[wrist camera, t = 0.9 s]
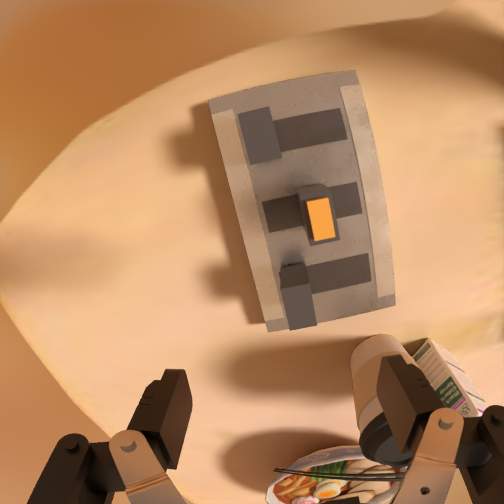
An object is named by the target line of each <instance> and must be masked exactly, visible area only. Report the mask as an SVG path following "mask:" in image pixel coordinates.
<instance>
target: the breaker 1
mask: <svg viewBox="0 0 504 504" xmlns="http://www.w3.org/2000/svg"><path fill="white" fill-rule="evenodd" d="M237 115H238V119H239V123H240V127H241V131H242V135H243V139H244V142H245V146H246V150H247V154H248V158H249V162H250V165H253V164H257V163H262V162H266V161H270V160H275V159H279V158H282V155H281V151H280V147H279V143H278V139H277V135H276V131H275V127H274V123H273V119H272V115H271V112H270V108H269V106H268V107H264V108H259V109H255V110H251V111H247V112H243V113H239V114H237Z"/></svg>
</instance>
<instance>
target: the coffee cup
mask: <svg viewBox="0 0 504 504" xmlns="http://www.w3.org/2000/svg"><path fill="white" fill-rule="evenodd" d="M395 354H401V355H402V357H403V358H404V360H405V361H406V363H407V364H411V363H412V364H414V365H415V366H417V367H418V368H419V366H418V365H417V363H416V362H415V361H414V359H413V358H412V357H411V356H410V355H409V354H408V353H407V352H406V350H405V349H404V347H403V346H402V345H401V343H400V342H399V341H398V339H396V338H395V337H393V336H391V335H384V334H382V335H375V336H372V337H370V338H367V339H366V340H364V341H362V342H361V343H360V344H359V345H358V346H357V347H356V348H355V349H354V351H353V352H352V355H351V358H350V366H351V372H352V379H353V381H352V388H353V395H354V402H355V410H356V417H357V425H358V428H359V430H360V439H359V445H360V448H361V451H362V454H363V456H364V457H365V458H367V459H368V460H370V461H373V462H378V463H380V464H382V465H387V466H391V467H394V468H403V467H406V466H408V465H409V462H410V460H411V458H412V455H411V453H410V452H408V453H405V454H400V451H399V449H398V446H397V444H396V441H395V439H394V436H393V434H392V431H391V429H390V426H389V424H388V421H387V419H386V416H385V414H384V412H383V409H382V407H381V404H380V402H379V400H378V397H377V391H376V386H377V380H378V375H379V369H380V364H381V359H382V357H384V356H390V355H395ZM426 379H427V378H426ZM430 385H431V383H430ZM432 387H433V386H432ZM433 389H434V388H433ZM434 390H435V389H434ZM435 392H436V391H435ZM441 401H442V400H441ZM442 403H443V404H444V406H445V408H447V407H446V404H445V403H444V402H443V401H442Z"/></svg>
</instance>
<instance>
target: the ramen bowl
mask: <svg viewBox="0 0 504 504" xmlns="http://www.w3.org/2000/svg"><path fill="white" fill-rule="evenodd" d="M275 469H276V470H274V471H275V472H281V473H280V474H279V475H278V476H277V477H276V478H275V479H274V480H273V481H272V483H271V484H270V486H269V487H268V489H267V493H266V497H265V500H266V502H267V503H268V504H320V503H323V502H326V501H331V500H338V499H344V498H350V497H355V496H359V500H360V503H368V504H382V503H383V502H385V501H387V500H388V499H390V498H391V497H393V496H394V494H395V492H396V490H397V488H398V486H399V484H400V482H401V480H402V478H403V476H404V473H405V471H406V469H407V467H403V468H394V467H391V466H387V465H382V464H380V463H378V462H373V461H370V460H368V459H367V458H365V457H364V456H363V454H362V451H361V448H360V445H353V446H337V447H332V448H328V449H323V450H319V451H316V452H314V453H311V454H309V455H307V456H304V457H302V458H300V459H298V460H296V461H295V462H294V463H293V464H291V465H290V466H289V467H288V468H286V469H278V468H275ZM277 470H283V471H277Z"/></svg>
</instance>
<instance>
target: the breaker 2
mask: <svg viewBox="0 0 504 504" xmlns="http://www.w3.org/2000/svg"><path fill="white" fill-rule="evenodd" d="M280 290H281V295H282V299H283V303H284V308H285V312H286V316H287V321H288V325H289V330H296V329H301V328H306V327H311V326H316V325H317V321H316V315H315V310H314V304H313V299H312V294H311V288H310V283H309V278H308V274H307V269H306V265H305V263H301V264H297V265H292V266H287V267H282V268H280Z"/></svg>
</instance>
